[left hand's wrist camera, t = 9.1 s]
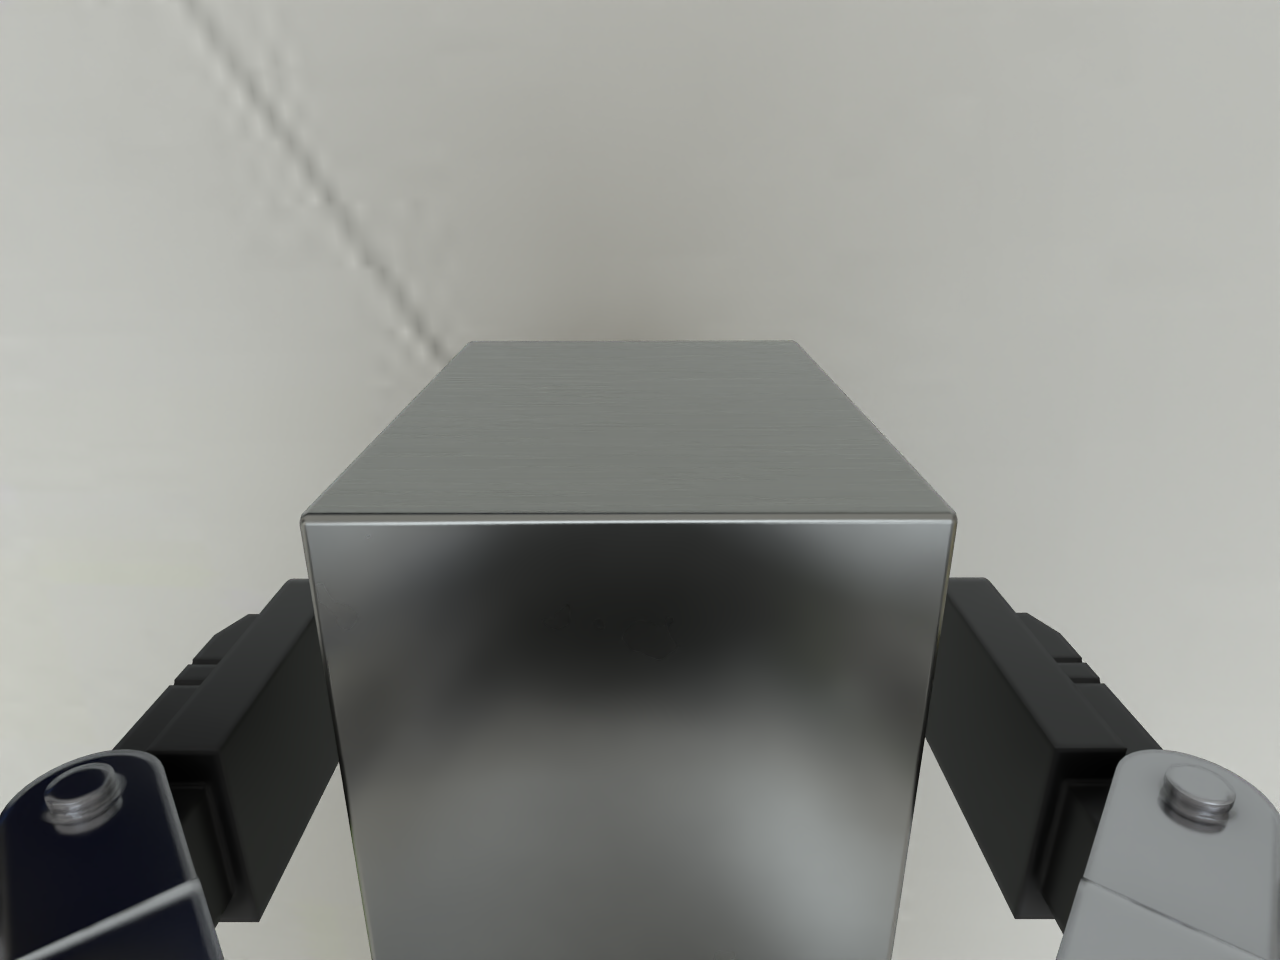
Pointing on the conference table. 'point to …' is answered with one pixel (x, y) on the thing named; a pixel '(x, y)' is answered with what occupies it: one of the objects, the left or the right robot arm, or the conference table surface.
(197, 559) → the conference table surface
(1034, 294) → the conference table surface
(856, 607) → the bar
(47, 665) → the conference table surface
